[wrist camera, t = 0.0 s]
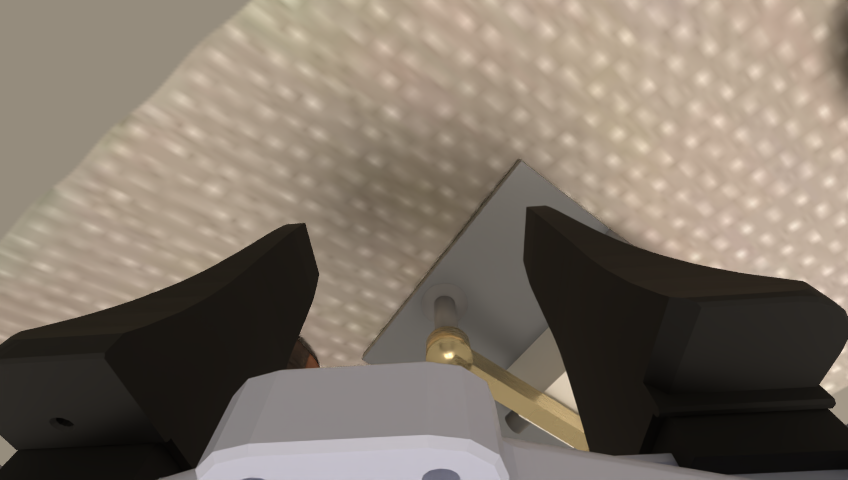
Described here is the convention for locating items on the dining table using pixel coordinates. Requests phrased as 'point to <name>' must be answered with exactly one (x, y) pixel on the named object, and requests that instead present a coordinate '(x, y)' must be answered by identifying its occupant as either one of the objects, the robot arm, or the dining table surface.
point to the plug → (542, 378)
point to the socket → (484, 287)
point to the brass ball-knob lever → (506, 386)
